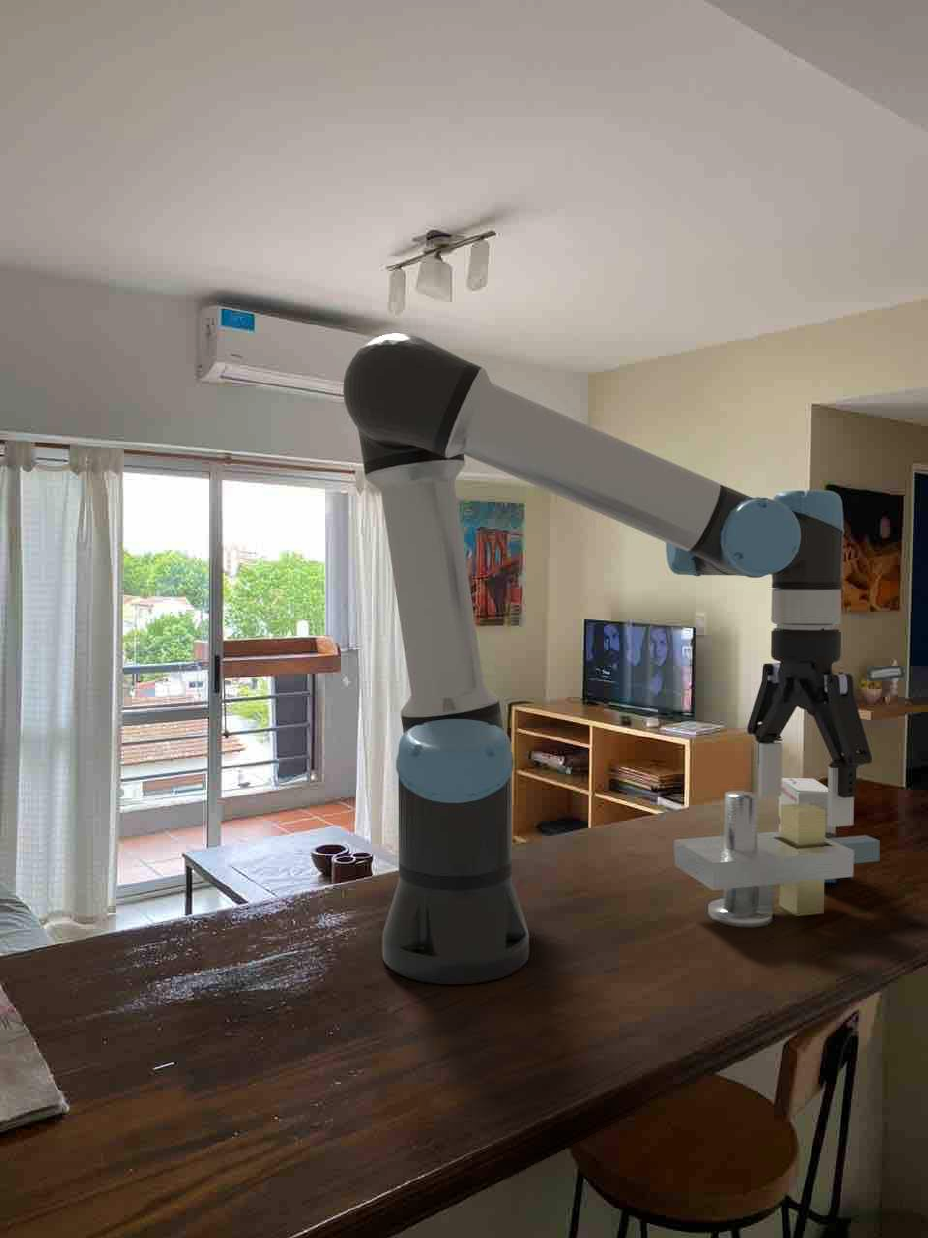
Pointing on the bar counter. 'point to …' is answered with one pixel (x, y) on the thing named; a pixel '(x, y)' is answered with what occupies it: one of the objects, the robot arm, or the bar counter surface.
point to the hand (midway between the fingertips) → (803, 810)
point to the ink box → (806, 800)
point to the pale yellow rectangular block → (802, 831)
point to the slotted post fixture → (761, 862)
